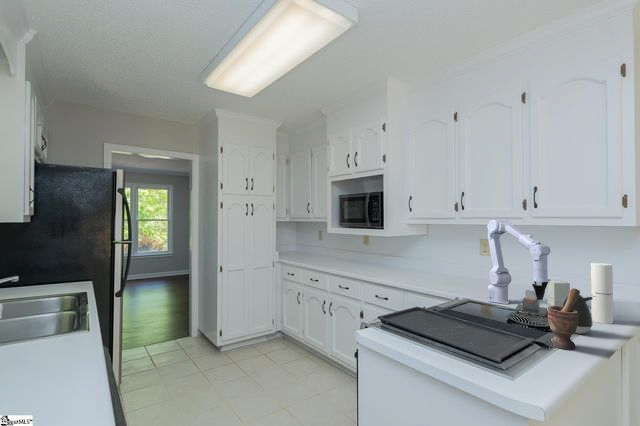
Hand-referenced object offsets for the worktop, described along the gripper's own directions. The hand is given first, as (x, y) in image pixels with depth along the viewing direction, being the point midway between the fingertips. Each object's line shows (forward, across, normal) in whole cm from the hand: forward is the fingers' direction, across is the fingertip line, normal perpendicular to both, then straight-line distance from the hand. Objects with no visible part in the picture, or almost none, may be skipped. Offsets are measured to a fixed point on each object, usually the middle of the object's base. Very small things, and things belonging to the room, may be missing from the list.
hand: (540, 298), depth 155 cm
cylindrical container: (+7, +2, -22) cm, 24 cm away
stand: (+7, 0, +4) cm, 8 cm away
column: (+6, 0, +4) cm, 7 cm away
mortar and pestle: (+7, -41, -10) cm, 42 cm away
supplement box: (+7, +20, -6) cm, 22 cm away
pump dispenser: (+7, -21, -13) cm, 26 cm away
